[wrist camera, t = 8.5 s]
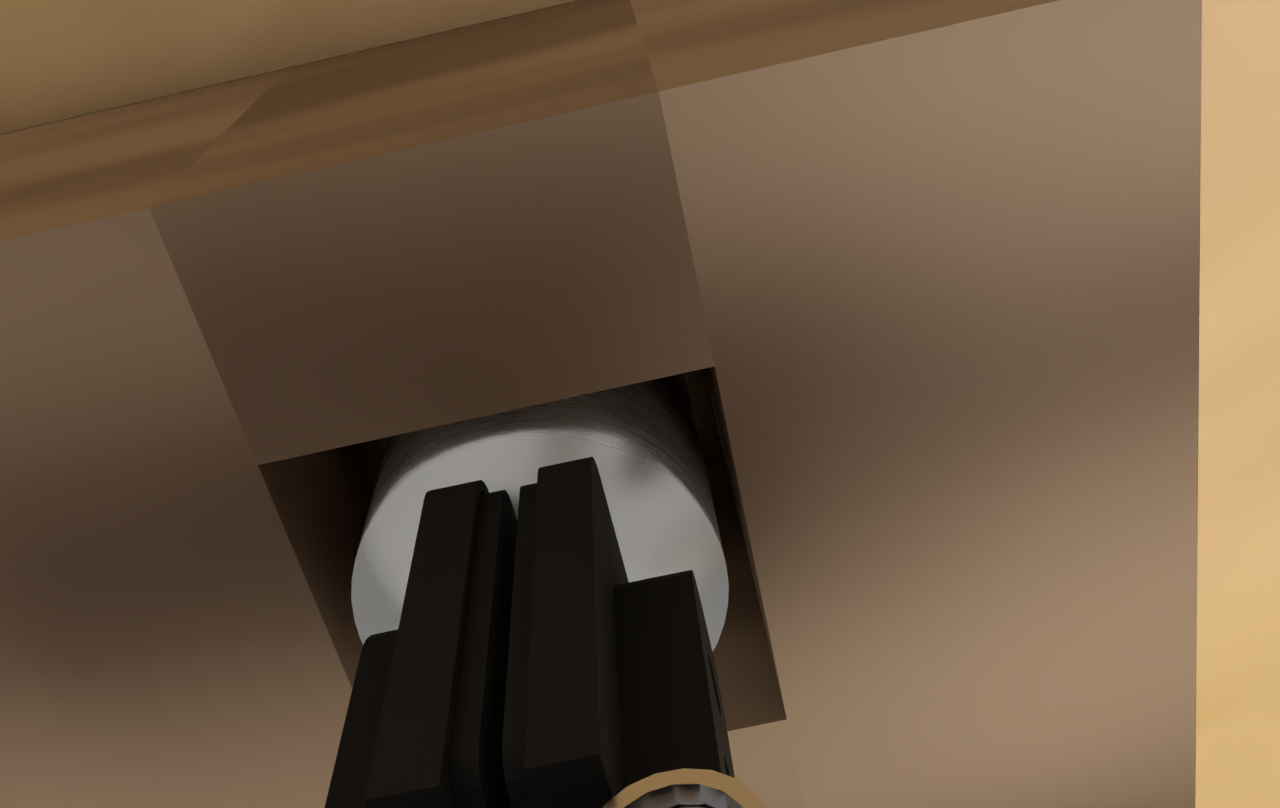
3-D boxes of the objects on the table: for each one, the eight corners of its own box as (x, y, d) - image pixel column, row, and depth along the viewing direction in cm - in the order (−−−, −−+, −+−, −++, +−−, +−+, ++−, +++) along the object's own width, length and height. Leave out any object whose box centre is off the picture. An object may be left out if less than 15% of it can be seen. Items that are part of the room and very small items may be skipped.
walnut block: (-46, 146, 16) (-351, 321, 11) (980, -93, 15) (1202, -33, 10) (426, 1111, 26) (391, 1449, 21) (1059, 991, 25) (1190, 1309, 20)
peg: (375, 282, 17) (297, 484, 12) (652, 220, 17) (690, 399, 12) (455, 516, 19) (415, 773, 14) (706, 462, 18) (757, 705, 13)
